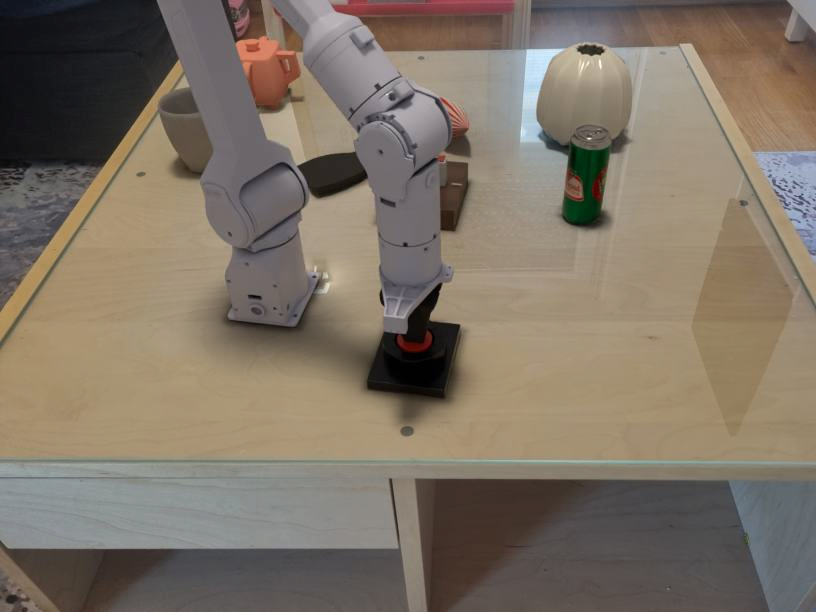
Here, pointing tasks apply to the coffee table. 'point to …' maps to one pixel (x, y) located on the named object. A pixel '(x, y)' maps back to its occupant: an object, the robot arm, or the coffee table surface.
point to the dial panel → (452, 193)
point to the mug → (185, 128)
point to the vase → (584, 92)
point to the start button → (414, 344)
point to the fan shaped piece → (333, 172)
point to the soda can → (586, 174)
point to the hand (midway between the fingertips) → (414, 338)
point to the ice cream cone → (456, 118)
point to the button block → (416, 363)
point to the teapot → (267, 69)
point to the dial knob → (442, 170)
